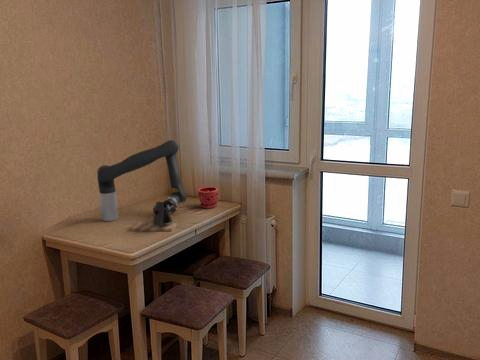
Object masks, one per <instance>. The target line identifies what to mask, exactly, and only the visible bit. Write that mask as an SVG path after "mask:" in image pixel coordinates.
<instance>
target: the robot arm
mask: <svg viewBox="0 0 480 360" xmlns="http://www.w3.org/2000/svg"><path fill="white" fill-rule="evenodd" d="M179 148H180V146H179V143H178V142H177V141H175V140H172V139H171V140H166V141H165V142H164V143H162V144H160V145H157V146H155V147H151V148H149V149H146V150H142V151H139V152H136V153H134V154H131V155H129V156H127V157H126V158H125V159H123V160H121V161H120V162H117V163H115V164H112V165H107V164H104V165H101V166H99V167H98V169H97V171H96V173H97V174H96V175H97V184H98V190H99V198H100V204H99V213H100V220H101V221H103V222H113V221H114V222H115V221H117V220H119V214H118V203H117V194H116V193H117V192H116V185H115V179H117V178H118V177H121V176H122V175H124V174H128V173H130V172H134V171H136V170H138V169H142V168H144V167H146V166H149V165H151V164H153V163H154V162H156V161H157V160H160V159H162V158H165V160H166V165H167V170H168V171H167V172H168V178H169V179H168V180H169V184H170V188H171V189H176V190H177V191H173V192H171V193H170V194H169V197H168V198H166V199H165V200H164V201H162V202H163V203H166V204H167V209H168V210H166V211H165V213H166V215H167V214H174V213H176V212H177V211H179V210H178V209H179V208H178V206H179V204H181V203H185V202H186V201H187V194H186V192H185V189H184V187H183V185H182V184H183V183H182V179H181V173H180V169H179V167H178V163H177V161H178V160H177V152H178V151H179ZM152 212H153V214H154V216H155V215H156V212H157V210H156V205H154V206H153V208H152Z"/></svg>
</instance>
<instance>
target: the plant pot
mask: <svg viewBox="0 0 480 360" xmlns="http://www.w3.org/2000/svg"><path fill="white" fill-rule="evenodd" d="M197 194H198V199H199V202H200V204H199V205H200V207H202V208H204V209H212V208H213V209H214V208H216V207H217V206H218V204H219V203H218V199H219V189H218V188H217V187H214V186H205V187H201V188H199V189H198V190H197Z"/></svg>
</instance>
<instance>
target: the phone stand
mask: <svg viewBox="0 0 480 360" xmlns="http://www.w3.org/2000/svg"><path fill="white" fill-rule="evenodd" d="M163 202H164V201H156V203H155V206H156V210H157V212H156V215H155V214H154V217H153V221H152V223H153V224H156V225H159V226H162V225H164V224H167V223H173V219H172V216H171V213H169V214H167V215H166V213H165V211H166V210H168V209H167V204H166V203H163Z"/></svg>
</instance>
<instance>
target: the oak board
mask: <svg viewBox="0 0 480 360" xmlns="http://www.w3.org/2000/svg"><path fill="white" fill-rule="evenodd" d="M176 227H177V222H170V223H167V224H164V225H162V226H159V225H156V224H153V222H139V221H138V222H135V223H134V224H133V225H132V226H130V227H129V231H134V232H135V231H137V232H141V231H142V232H144V231H145V232H172V231H173V230H174V229H175V228H176Z"/></svg>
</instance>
